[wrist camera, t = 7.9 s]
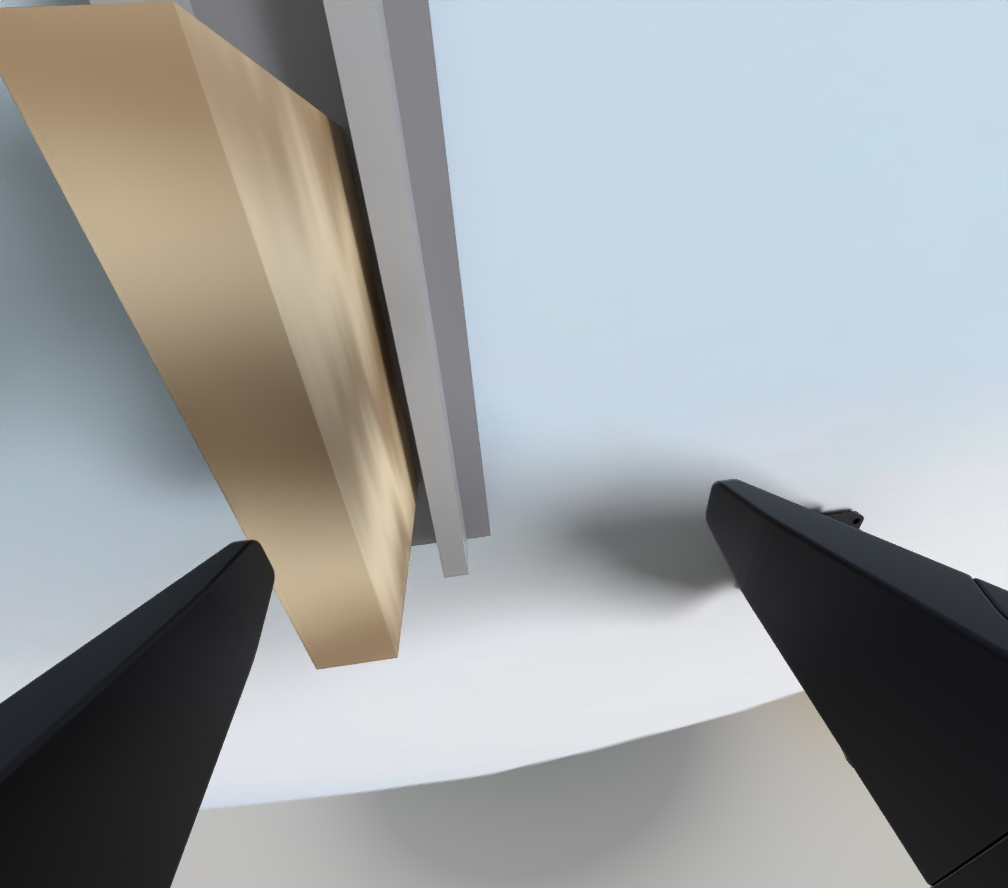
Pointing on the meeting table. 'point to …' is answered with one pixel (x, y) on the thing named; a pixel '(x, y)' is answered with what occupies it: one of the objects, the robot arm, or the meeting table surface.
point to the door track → (389, 218)
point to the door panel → (238, 291)
